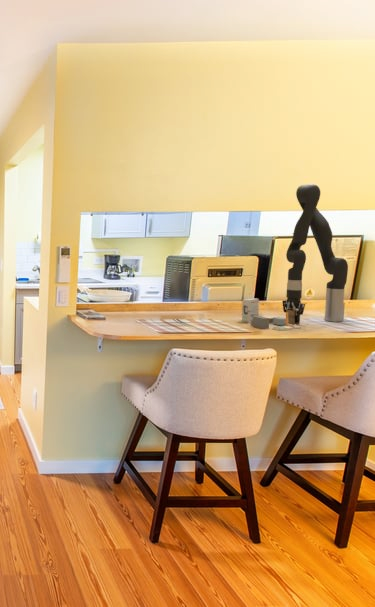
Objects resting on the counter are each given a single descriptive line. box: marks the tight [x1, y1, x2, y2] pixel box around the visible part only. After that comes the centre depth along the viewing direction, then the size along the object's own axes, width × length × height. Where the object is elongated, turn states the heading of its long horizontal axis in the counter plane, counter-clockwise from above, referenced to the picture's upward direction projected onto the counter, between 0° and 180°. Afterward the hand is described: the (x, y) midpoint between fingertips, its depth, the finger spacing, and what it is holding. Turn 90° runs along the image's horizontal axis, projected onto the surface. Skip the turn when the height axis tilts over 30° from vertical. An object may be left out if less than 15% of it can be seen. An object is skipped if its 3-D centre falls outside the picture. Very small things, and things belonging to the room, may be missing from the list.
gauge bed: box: [250, 315, 303, 332], centre depth 285 cm, size 18×18×5 cm
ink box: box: [241, 298, 260, 324], centre depth 298 cm, size 9×5×12 cm, turn 141°
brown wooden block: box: [285, 309, 301, 325], centre depth 295 cm, size 5×5×7 cm
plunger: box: [272, 312, 294, 326], centre depth 287 cm, size 4×14×7 cm, turn 36°
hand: (292, 321), depth 295 cm, fingers closed on brown wooden block, 5 cm apart
